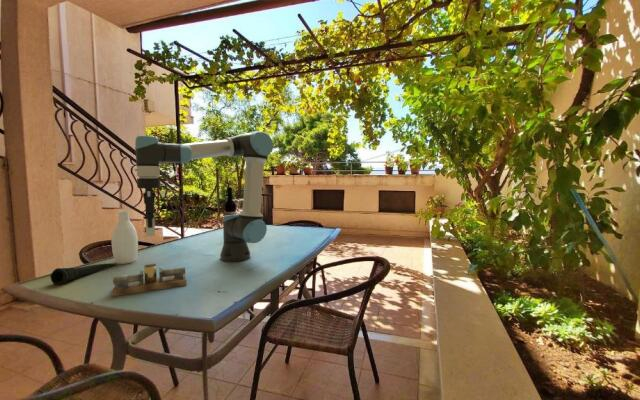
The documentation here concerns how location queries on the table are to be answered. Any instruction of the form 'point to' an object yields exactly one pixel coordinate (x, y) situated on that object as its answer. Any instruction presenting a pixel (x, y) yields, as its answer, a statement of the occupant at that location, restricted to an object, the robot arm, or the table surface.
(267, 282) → the table surface
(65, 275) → the tool
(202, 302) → the table surface
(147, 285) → the double roll holder
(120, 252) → the bottle
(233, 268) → the table surface
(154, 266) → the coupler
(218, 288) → the table surface
